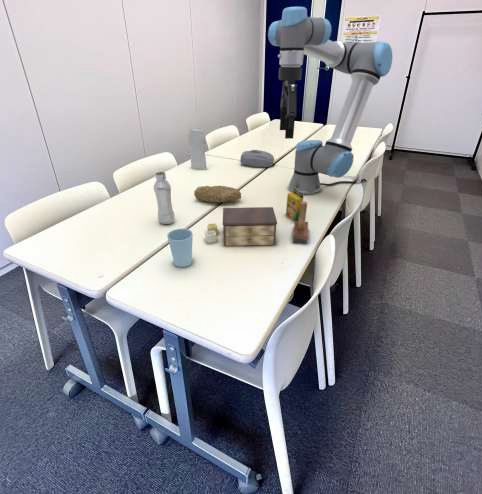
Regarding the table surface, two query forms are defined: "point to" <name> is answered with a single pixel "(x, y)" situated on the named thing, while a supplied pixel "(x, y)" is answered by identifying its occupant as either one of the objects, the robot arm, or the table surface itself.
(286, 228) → the table surface
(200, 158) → the tall pale column
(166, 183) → the plastic bottle
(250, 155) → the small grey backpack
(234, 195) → the sponge
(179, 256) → the cup
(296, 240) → the brush
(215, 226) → the paper ball yellow
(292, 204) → the crayon box
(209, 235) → the white faceted lump
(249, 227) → the cabinet
